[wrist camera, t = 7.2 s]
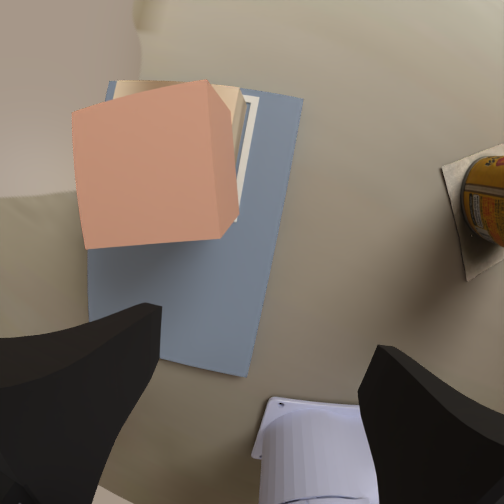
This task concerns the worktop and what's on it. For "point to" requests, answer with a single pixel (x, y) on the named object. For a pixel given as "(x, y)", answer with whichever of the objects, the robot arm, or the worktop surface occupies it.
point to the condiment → (478, 207)
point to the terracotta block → (155, 167)
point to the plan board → (211, 254)
